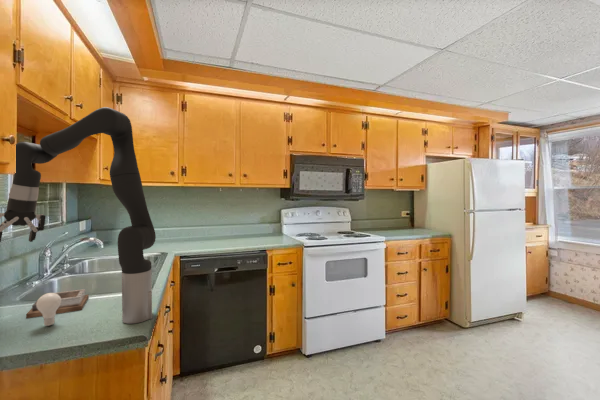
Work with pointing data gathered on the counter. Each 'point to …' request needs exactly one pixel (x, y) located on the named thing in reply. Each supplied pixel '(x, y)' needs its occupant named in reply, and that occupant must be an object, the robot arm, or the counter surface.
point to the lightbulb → (48, 307)
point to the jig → (64, 303)
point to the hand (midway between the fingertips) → (15, 241)
